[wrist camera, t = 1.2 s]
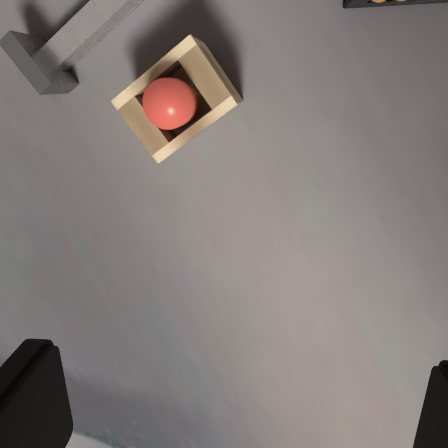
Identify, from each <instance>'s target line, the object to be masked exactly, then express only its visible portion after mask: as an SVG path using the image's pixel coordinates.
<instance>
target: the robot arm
mask: <svg viewBox="0 0 448 448" xmlns="http://www.w3.org/2000/svg"><path fill="white" fill-rule="evenodd" d="M72 430H73V420H72V414H71V409H70V404H69V399H68V393H67V388H66V383H65V378H64V372H63V367H62V362H61V357H60V351H59V348H58V347H57V346H54V345H53V342H52V341H51V340H47V339H26V340H25V341H23V342H22V344H21V345H20V346H19V347H18V348H17V349H16V350H15V351H14V352H13V354H12V355H11V356H10V357H9V358H8V359H7V360H6V361H5V362H4V364H3V365H2V366H1V367H0V448H65V447H66V445H67V443H68V441H69V439H70V437H71V434H72ZM413 448H448V360H443V361H441V362H440V363H439V366H434V367H433V368H432V370H431V374H430V378H429V382H428V386H427V391H426V395H425V399H424V403H423V407H422V411H421V416H420V420H419V424H418V428H417V432H416V436H415V441H414V445H413Z"/></svg>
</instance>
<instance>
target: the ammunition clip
mask: <svg viewBox="0 0 448 448" xmlns="http://www.w3.org/2000/svg"><path fill="white" fill-rule="evenodd" d="M446 2H448V0H343V8H361V7H378V6H395V5H412V4H429V3H446Z"/></svg>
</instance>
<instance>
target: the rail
mask: <svg viewBox="0 0 448 448" xmlns="http://www.w3.org/2000/svg"><path fill="white" fill-rule="evenodd" d="M143 1H144V0H90V1H89V2H88V3H87V4H86V5H85V6H84V7H83V8H82V9H80V10H79V11H78V12H77V13H76V14H75V15H74V16H73V17H72V18H71V19H70V20H69V21H68V22H67V23H66V24H65V25H64V26H63V27H62V28H61V29H60V30H59V31H58V32H57V33H56V34H55V35H54V36H53V37H52V38H51V39H50V40H49V41H48V42H47V41H46V40H45V38H44V37H39V36H34V35H29V34H24V33H19V32H15V31H9V32H8V33H7V34H6V35H5V36H4V37H3V38H2V39H1V40H0V46H1V47H2V48H3V50H4V51H5V52H6V53H7V54H8V56H9V57H10V58H11V59H12V61H13V62H14V63H15V64H16V66H17V67H18V68H19V69H20V71H21V72H22V73H23V74H24V76H25V77H26V78H27V79H28V81H29V82H30V83H31V84H32V86H33V87H34V88H35V89H36V91H37V92H38V93H39V94H40V95H42V94H63V93H69V92H71V91H72V90H73V89H74V88H75V87H76V86H77V85H78V84H79V83H78V81H77V80H76V79H75V77H74V76H73V75H72V73H71V72H70V71H69V70H70V69H71V68H72V67H73V66H74V65H75V64H76V63H77V62H78V61H79V60H80V59H81V58H83V57H84V56H85V55H86V54H87V53H88V52H89V51H90V50H91V49H92V48H93V47H94V46H95V45H97V44H98V43H99V42H100V41H101V40H102V39H103V38H104V37H105V36H106V35H107V34H108V33H110V32H111V31H112V30H113V29H114V28H115V27H116V26H117V25H118V24H119V23H120V22H121V21H123V20H124V19H125V18H126V17H127V16H128V15H129V14H130V13H131V12H132V11H133V10H134V9H136V8H137V7H138V6H139V5H140V4H141V3H142V2H143Z"/></svg>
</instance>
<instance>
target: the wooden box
mask: <svg viewBox="0 0 448 448" xmlns="http://www.w3.org/2000/svg"><path fill="white" fill-rule="evenodd" d="M159 78H179V79H184V80H187V81H188V82H190V83H191V84H192V85H193V86H194V87H195V88H196V90H197V92H198V94H199V98H200V107H199V111H198V113H197V115H196V116H195V117H194V119H192V120H191V121H190V122H188V123H186V124H184V125H182V126H180V127H177V128H175V129H170V130H167V129H161V128H159V127H157V126H155V125H154V124H152V123H151V122H150V121H149V120H148V118H147V117H146V115H145V113H144V110H143V95H144V92H145V90H146V88H147V87H148V85H149V84H150V83H152V82H153V81H155V80H156V79H159ZM242 101H243V99H242V98H241V96H240V95H239V93H238V92H237V90H236V89H235V87H234V86H233V84H232V83H231V81H230V80H229V78H228V77H227V75H226V74H225V72H224V71H223V69H222V68H221V66H220V65H219V63H218V62H217V61H216V59H215V58H214V56H213V55H212V53H211V52H210V50H209V49H208V47H207V46H206V44H205V43H203V42H202V41H200V40H199V39H197V38H195V37H194V36H192V35H189V36H187V37H186V38H185V39H184V40H183V41H182V42H180V43H179V44H178V45H177V46H176V47H174V48H173V49H172V50H171V51H170V52H169V53H167V54H166V55H165V56H164V57H163V58H161V59H160V60H159V61H158V62H157V63H156V64H154V65H153V66H152V67H151V68H150V69H149V70H147V71H146V72H145V73H144V74H143V75H141V76H140V77H139V78H138V79H137V80H136V81H134V82H133V83H132V84H131V85H130V86H129V87H127V88H126V89H125V90H124V91H123V92H121V93H120V94H119V95H118V96H117V97H116V98H114V99H113V100H112V101H111V102H112V103H113V105H114V106H115V107H116V109H117V110H118V111H119V113H120V114H121V115H122V117H123V118H124V119H125V120H126V122H127V123H128V124H129V126H130V127H131V128H132V130H133V131H134V132H135V134H136V135H137V136H138V138H139V139H140V140H141V142H142V143H143V144H144V146H145V147H146V148H147V149H148V151H149V152H150V153H151V155H152V156H153V157H154V159H155V160H156V161H157V163H160V162H161V161H162V160H164V159H165V158H167V157H168V156H169V155H171V154H172V153H174V152H175V151H176V150H178V149H179V148H180V147H182V146H183V145H184V144H186V143H187V142H188V141H190V140H191V139H192V138H194V137H195V136H196V135H198V134H199V133H200V132H202V131H203V130H205V129H206V128H207V127H209V126H210V125H211V124H213V123H214V122H215V121H217V120H218V119H219V118H221V117H222V116H223V115H225V114H226V113H227V112H229V111H230V110H231V109H233V108H234V107H235V106H237V105H238V104H239V103H241V102H242Z"/></svg>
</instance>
